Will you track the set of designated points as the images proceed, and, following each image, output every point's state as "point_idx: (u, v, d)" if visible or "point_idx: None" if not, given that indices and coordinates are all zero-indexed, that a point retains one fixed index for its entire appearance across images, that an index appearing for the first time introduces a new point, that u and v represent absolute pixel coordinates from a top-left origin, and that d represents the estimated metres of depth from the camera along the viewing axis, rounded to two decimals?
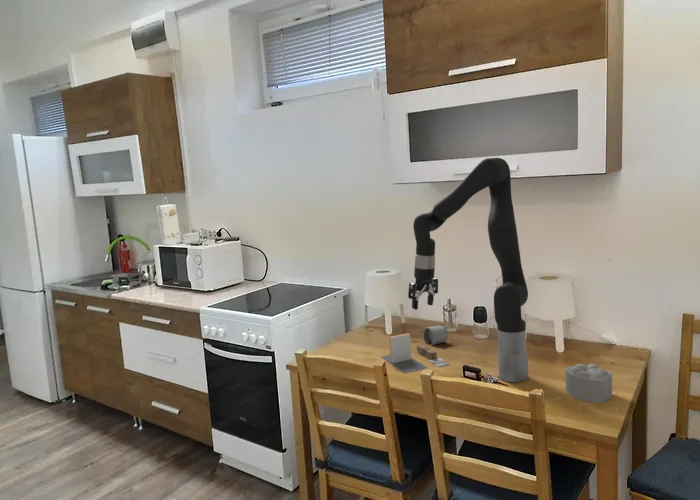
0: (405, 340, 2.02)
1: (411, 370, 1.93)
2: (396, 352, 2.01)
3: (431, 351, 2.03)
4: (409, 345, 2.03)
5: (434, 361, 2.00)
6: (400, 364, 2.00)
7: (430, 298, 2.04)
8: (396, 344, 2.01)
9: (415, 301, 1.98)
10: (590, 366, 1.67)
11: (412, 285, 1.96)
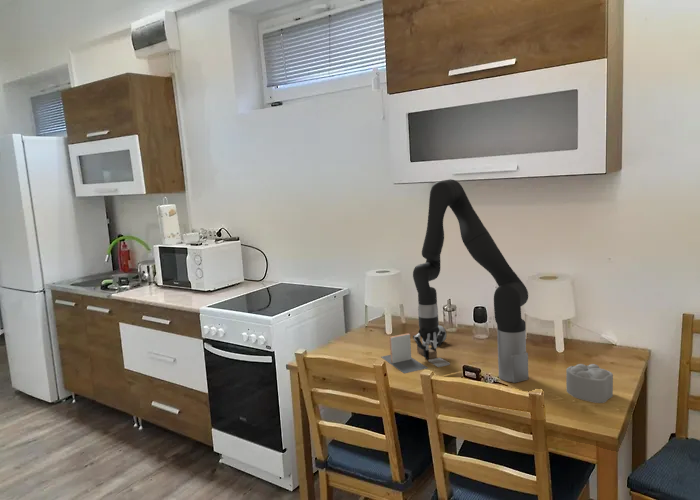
0: (405, 340, 2.02)
1: (411, 370, 1.93)
2: (396, 352, 2.01)
3: (431, 350, 2.03)
4: (409, 345, 2.03)
5: (434, 360, 2.00)
6: (400, 364, 2.00)
7: None
8: (396, 344, 2.01)
9: (425, 351, 2.03)
10: (591, 366, 1.67)
11: (415, 338, 2.01)
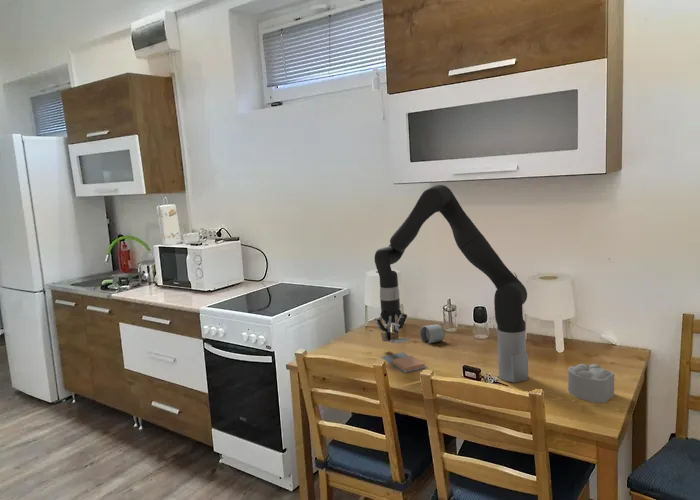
0: None
1: None
2: None
3: (393, 332, 2.08)
4: None
5: (396, 339, 2.04)
6: None
7: None
8: None
9: (387, 333, 2.08)
10: (592, 366, 1.67)
11: (376, 321, 2.06)
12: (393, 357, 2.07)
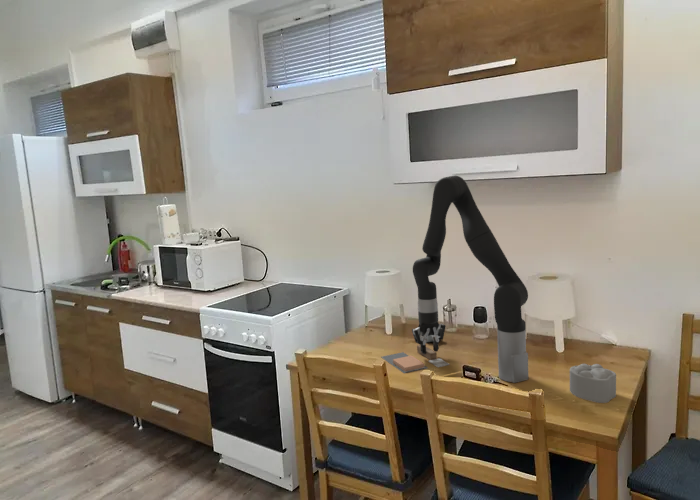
0: None
1: None
2: None
3: (431, 351, 2.03)
4: None
5: (434, 361, 2.00)
6: None
7: (434, 344, 2.04)
8: None
9: (422, 346, 2.02)
10: (594, 366, 1.67)
11: (414, 331, 2.00)
12: (393, 357, 2.07)
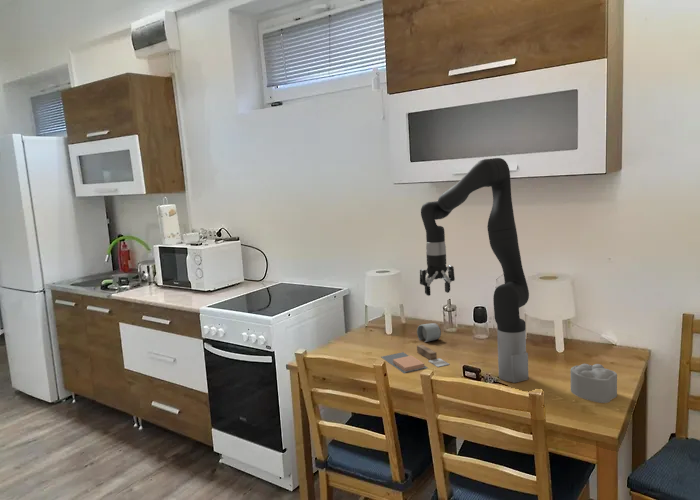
0: None
1: None
2: None
3: (431, 351, 2.03)
4: None
5: (434, 361, 2.00)
6: None
7: (446, 285, 2.08)
8: None
9: (427, 287, 2.05)
10: (595, 366, 1.67)
11: (422, 271, 2.03)
12: (393, 357, 2.07)
